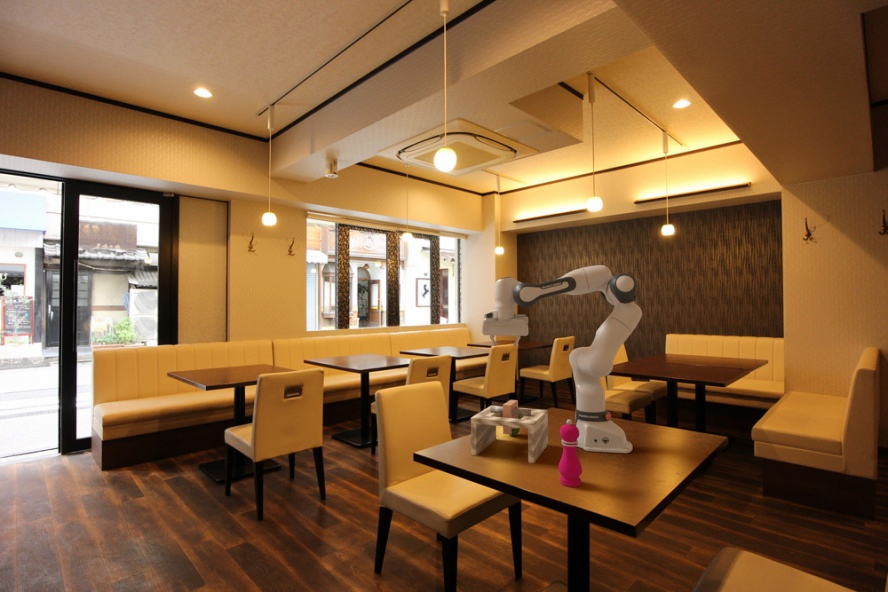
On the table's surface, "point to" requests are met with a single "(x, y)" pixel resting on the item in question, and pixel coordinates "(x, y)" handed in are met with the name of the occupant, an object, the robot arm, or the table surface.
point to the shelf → (488, 420)
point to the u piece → (509, 414)
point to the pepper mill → (570, 456)
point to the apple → (516, 431)
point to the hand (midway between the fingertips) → (505, 346)
